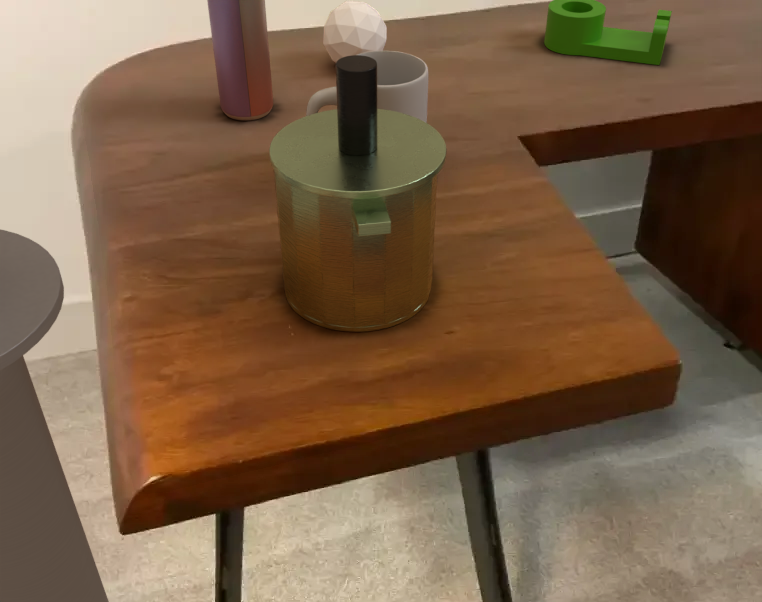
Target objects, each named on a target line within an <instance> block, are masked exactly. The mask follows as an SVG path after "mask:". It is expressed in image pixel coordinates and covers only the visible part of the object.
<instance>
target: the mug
mask: <svg viewBox="0 0 762 602" xmlns="http://www.w3.org/2000/svg"><path fill="white" fill-rule="evenodd" d="M357 55H362V56H368V57H371V58H373V59H374V60H376V62H377V109H384V110H390V111H395V112H400V113H403V114H407V115H410V116H413V117H416V118H418V119H420V120H422V121H424V122H426V123H428V99H429V98H428V97H429V67H428V64H427V63H426V62H425V61H424V60H423V59H422V58H420V57H418V56H416V55H414V54H411V53H408V52H402V51H397V50H383V51H371V52H365V53H361V54H357ZM325 106H336V107H337V91H336V85H335V86H330V87H327V88H322V89H320V90H318V91H316V92H314V93H313V94H312V95H311V97H310V98H309V100H308V102H307V106H306V111H305V116H308V115H311V114H315V113H319V112H320V110H321V109H322V108H324V107H325Z"/></svg>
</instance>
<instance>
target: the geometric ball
mask: <svg viewBox="0 0 762 602" xmlns="http://www.w3.org/2000/svg"><path fill="white" fill-rule="evenodd" d="M387 28H388V26H387V25H386V23H385V21H384V19H383V17H382V16H381V14H380V13H379V11H378V10H377V9H376V8H374V7H373V6H372V5H370V4H369V3H367V2H364V1H359V0H358V1H356V0H345V1H344V2H342V3H341V4H339V5H338V6H337V7H334V9H332V10H331V11H330V12H329V14H328V16H327V19H326V21H325V23H324V25H323V37H322V38H323V39H322V45H323V47H324V49H325V50H326V52H327V54H328V55H329V57H330V58H331V59H330V60H331V61H332V62H334V63H336V62H337V60H339V59H340V58H343V57H346V56H351V55H357V54H361V53H365V52H371V51H384V50H385V47H386V43H387V39H388V37H387V34H388V33H387V31H388V29H387Z"/></svg>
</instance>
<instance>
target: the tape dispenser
mask: <svg viewBox="0 0 762 602" xmlns="http://www.w3.org/2000/svg"><path fill="white" fill-rule="evenodd" d="M547 7H548V8H547V14H546V15H547V16H546V23H545V33H544V40H543V43H544V46H545V47H546V48H547V49H549V50H550V51H552V52H553V53H554V52H555V53H558V54H561V55H567V56H583V57H592V58H599V59H606V60H616V61H622V62H631V63H632V62H633V63H639V64H647V65H654V66H661V61H662V58H663V54H664V49H665V45H666V42H667V41H666V40H667V36H668V32H669V27H670V22H671V18H672V12H673V11H672V10H667V9H658V10H657V14H656V18H655V21H654V24H653V29H652V32H651V31H641V30H633V29H624V28H616V27H609V26H604V23H605V19H606V18H605V17H606V11H607V7H606V6H605V4H603V3H602V2H601V1H598V0H551V1H550V2H549V3H548V6H547Z"/></svg>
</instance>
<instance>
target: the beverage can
mask: <svg viewBox="0 0 762 602" xmlns="http://www.w3.org/2000/svg"><path fill="white" fill-rule="evenodd" d="M206 1H207V9H208V10H207V11H208V18H209V26H210V34H211V42H212V49H213V56H214V58H213V59H214V65H215V73H216V74H215V75H216V81H217V82H216V83H217V89H218V97H219V105H220V109H221V110H222V112H223V113H224V114H225V115H226V117H228V118H230V119H233V120H237V121H255V120H259V119H261V118H264V117H266V116H267V115H269V114H270V113H271V111H272V109H273V106H274V95H273V82H272V71H271V70H272V69H271V58H270V46H269V35H268V34H269V33H268V22H267V10H266V9H267V8H266V0H206Z"/></svg>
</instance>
